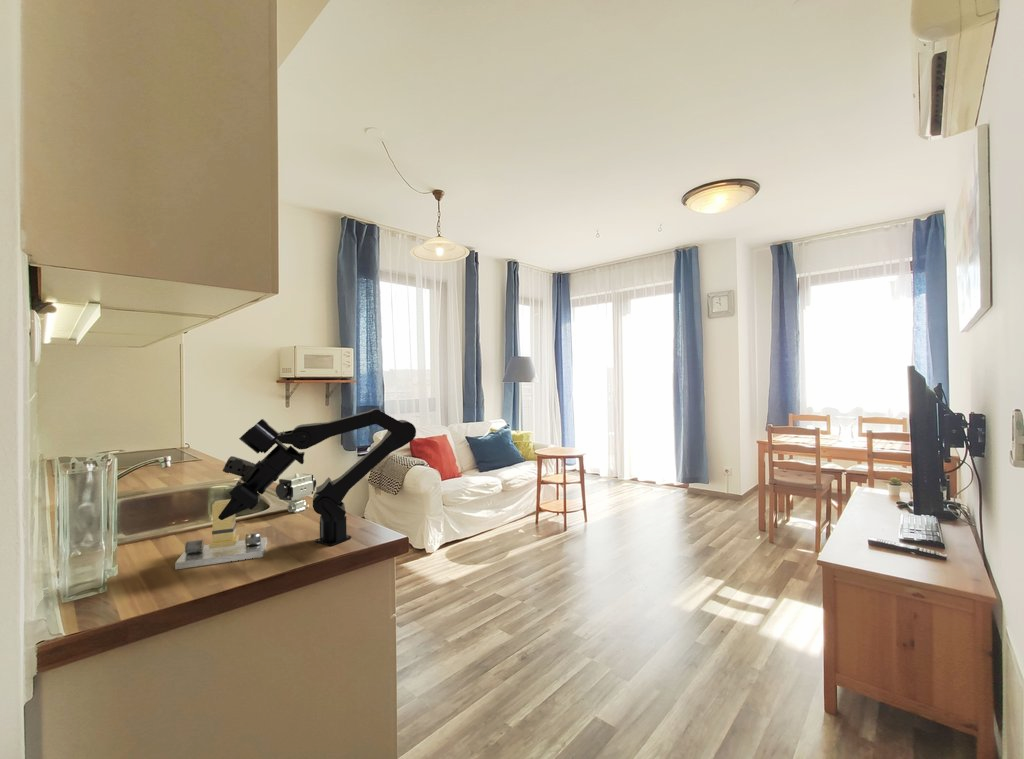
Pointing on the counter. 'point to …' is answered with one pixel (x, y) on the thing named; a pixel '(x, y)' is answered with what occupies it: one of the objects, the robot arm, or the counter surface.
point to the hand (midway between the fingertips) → (221, 516)
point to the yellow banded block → (223, 527)
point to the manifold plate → (221, 552)
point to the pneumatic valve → (296, 490)
